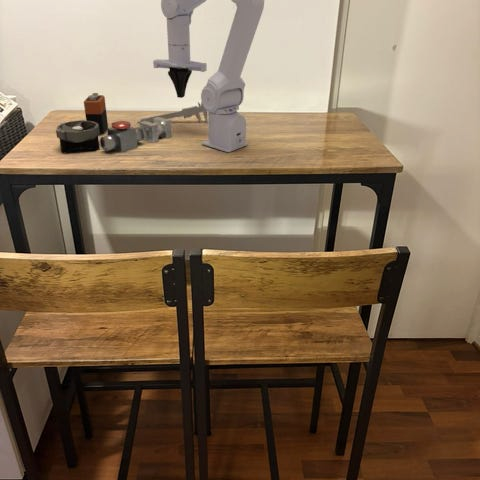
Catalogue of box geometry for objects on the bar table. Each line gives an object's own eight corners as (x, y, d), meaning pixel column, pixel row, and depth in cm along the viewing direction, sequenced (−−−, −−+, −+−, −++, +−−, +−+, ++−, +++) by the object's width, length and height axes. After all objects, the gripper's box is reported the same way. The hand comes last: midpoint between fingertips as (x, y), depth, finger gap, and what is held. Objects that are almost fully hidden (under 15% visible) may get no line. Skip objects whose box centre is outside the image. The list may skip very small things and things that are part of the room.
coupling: (159, 133, 135) (158, 116, 133) (171, 136, 133) (170, 120, 131) (140, 139, 130) (139, 122, 128) (153, 143, 128) (151, 125, 126)
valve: (112, 155, 119) (109, 130, 116) (99, 150, 122) (96, 126, 119) (146, 144, 127) (144, 121, 124) (134, 140, 129) (131, 117, 126)
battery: (87, 134, 133) (82, 97, 128) (93, 127, 139) (88, 91, 134) (103, 134, 133) (99, 97, 128) (108, 127, 139) (104, 91, 134)
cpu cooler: (97, 118, 127) (100, 129, 119) (99, 139, 130) (102, 152, 122) (55, 121, 124) (55, 133, 116) (59, 142, 127) (59, 155, 119)
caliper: (207, 122, 146) (207, 100, 143) (207, 123, 145) (207, 101, 142) (137, 123, 144) (135, 101, 141) (136, 124, 143) (135, 102, 140)
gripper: (146, 44, 125) (150, 97, 132) (199, 48, 122) (200, 102, 129) (158, 40, 131) (161, 92, 138) (209, 44, 128) (209, 96, 135)
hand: (181, 96), depth 134 cm, fingers closed
